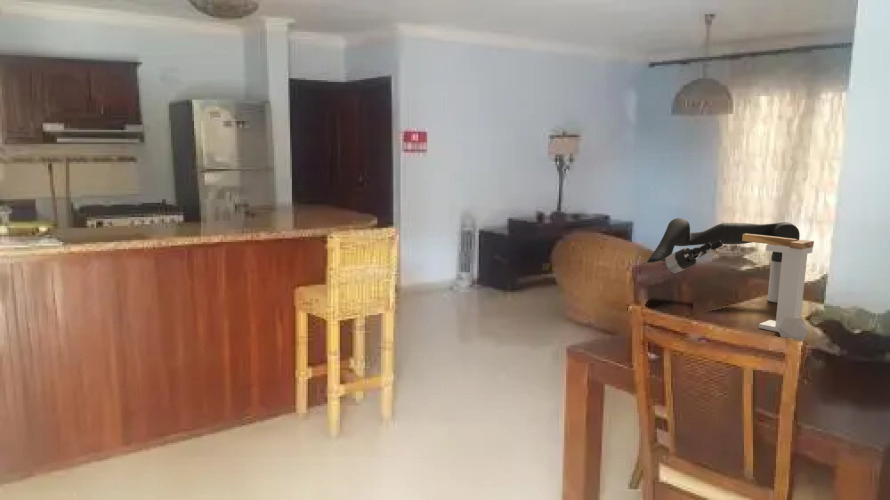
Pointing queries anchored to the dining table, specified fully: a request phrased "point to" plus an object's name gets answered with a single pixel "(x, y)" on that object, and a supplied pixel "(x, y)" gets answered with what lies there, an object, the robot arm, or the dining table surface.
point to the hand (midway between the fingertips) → (716, 244)
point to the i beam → (789, 284)
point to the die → (793, 328)
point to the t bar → (778, 241)
